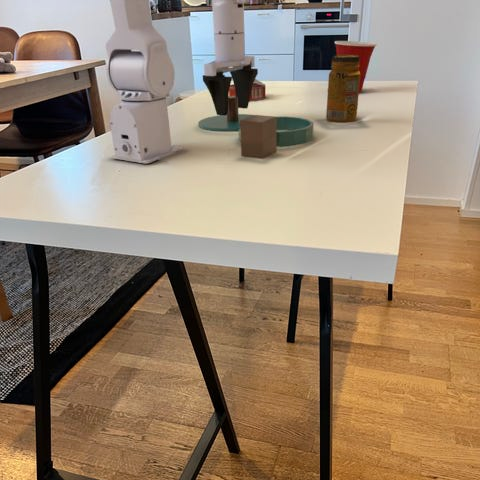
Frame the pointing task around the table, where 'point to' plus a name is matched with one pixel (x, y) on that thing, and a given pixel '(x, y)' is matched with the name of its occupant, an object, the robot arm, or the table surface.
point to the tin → (292, 131)
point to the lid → (225, 118)
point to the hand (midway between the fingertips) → (232, 111)
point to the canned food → (252, 90)
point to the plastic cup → (360, 50)
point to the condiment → (343, 89)
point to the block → (258, 136)
